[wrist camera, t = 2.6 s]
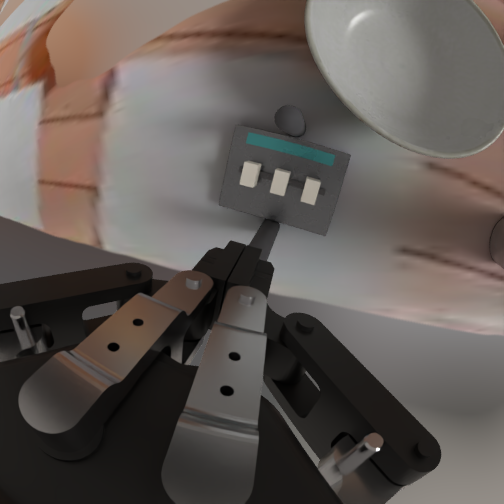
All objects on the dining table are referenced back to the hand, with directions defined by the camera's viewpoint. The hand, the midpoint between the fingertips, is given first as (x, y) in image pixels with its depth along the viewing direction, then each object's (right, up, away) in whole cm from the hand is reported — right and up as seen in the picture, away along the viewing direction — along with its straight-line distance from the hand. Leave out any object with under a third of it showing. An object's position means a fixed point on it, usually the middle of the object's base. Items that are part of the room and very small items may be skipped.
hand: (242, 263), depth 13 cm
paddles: (+4, +10, +23) cm, 26 cm away
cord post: (+3, +4, +29) cm, 30 cm away
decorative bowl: (+21, +27, +16) cm, 38 cm away
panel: (+5, +11, +26) cm, 29 cm away
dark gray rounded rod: (+7, +18, +23) cm, 30 cm away
